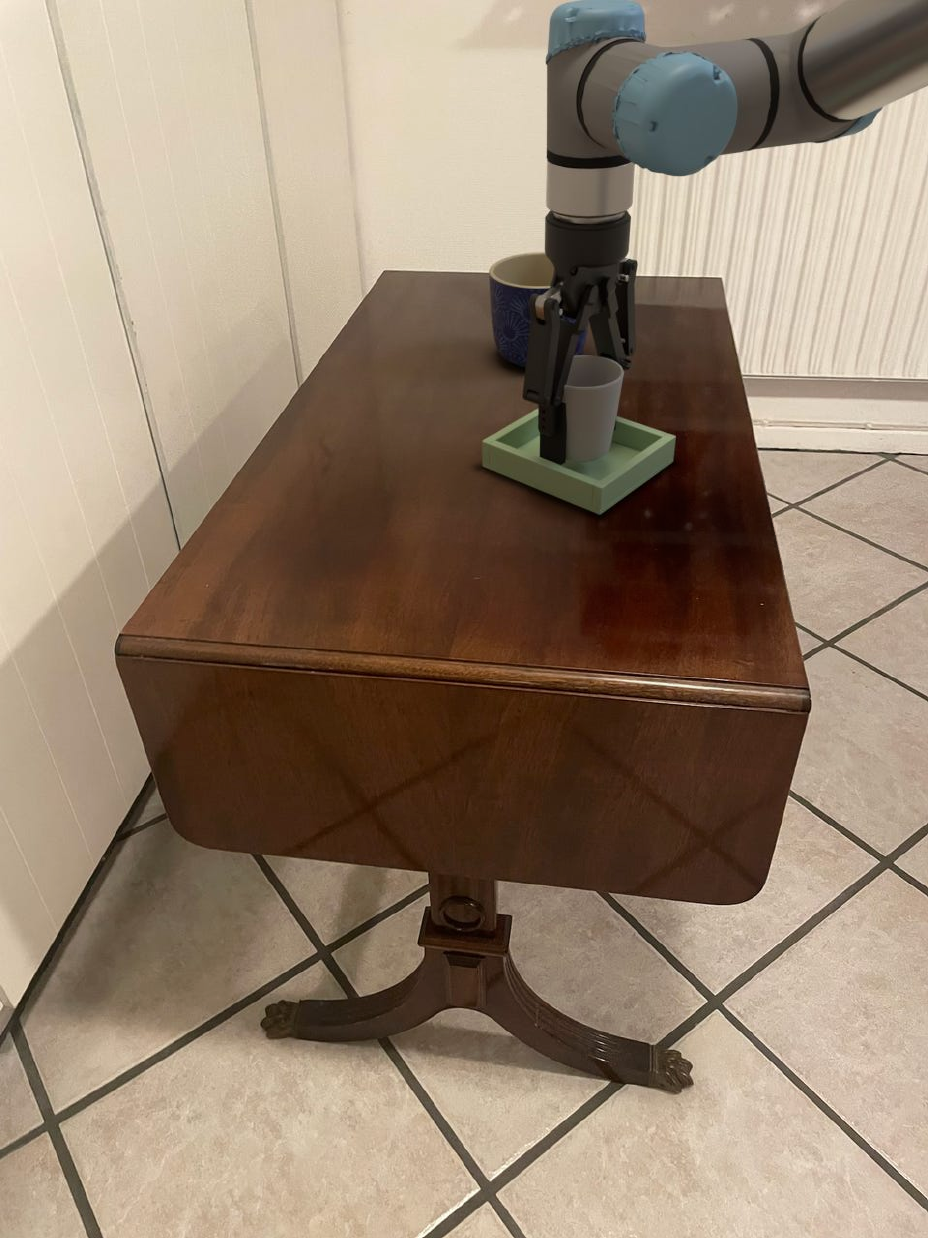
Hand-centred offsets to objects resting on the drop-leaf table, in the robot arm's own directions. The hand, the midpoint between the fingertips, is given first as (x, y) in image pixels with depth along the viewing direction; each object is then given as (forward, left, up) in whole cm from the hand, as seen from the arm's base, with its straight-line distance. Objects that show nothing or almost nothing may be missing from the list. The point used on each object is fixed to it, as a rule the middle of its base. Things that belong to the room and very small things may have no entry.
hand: (578, 442), depth 97 cm
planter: (+20, -19, -3) cm, 28 cm away
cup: (0, 0, 0) cm, 1 cm away
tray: (0, 0, -3) cm, 3 cm away
